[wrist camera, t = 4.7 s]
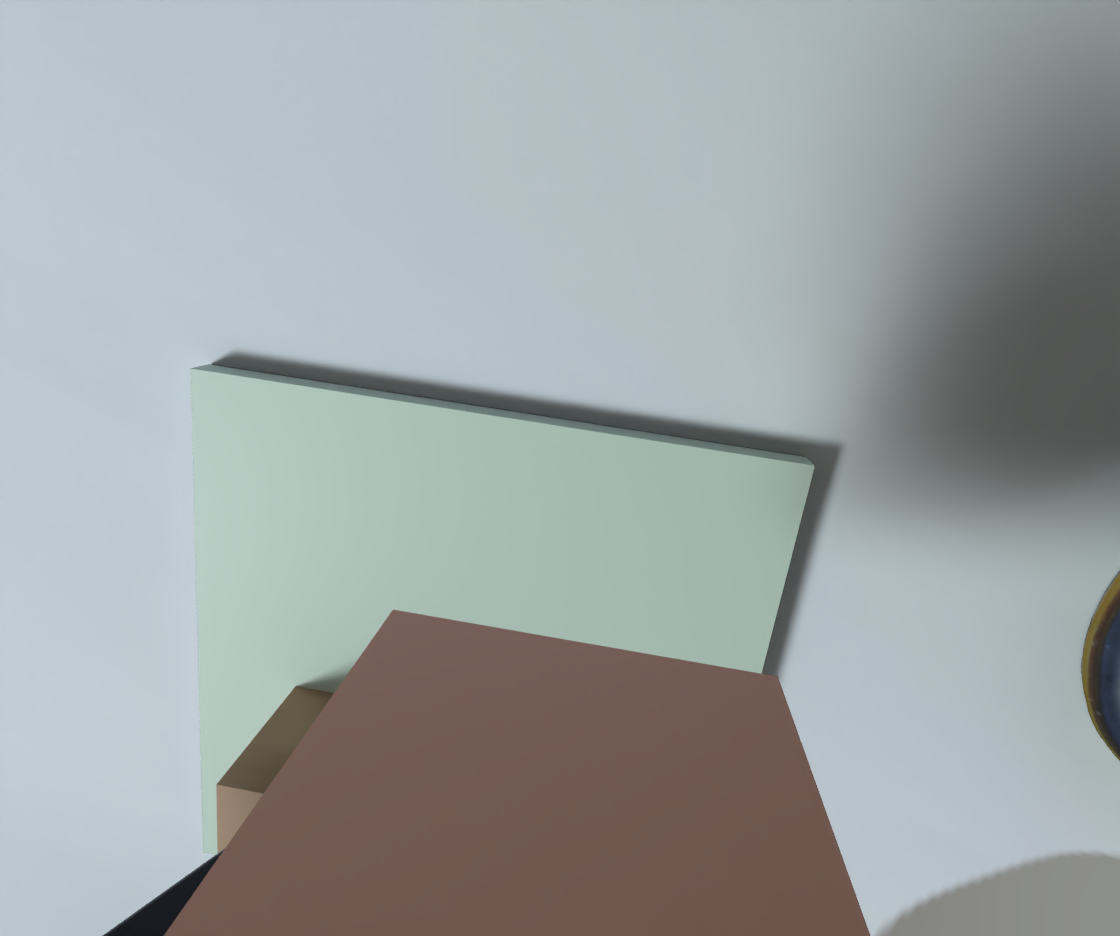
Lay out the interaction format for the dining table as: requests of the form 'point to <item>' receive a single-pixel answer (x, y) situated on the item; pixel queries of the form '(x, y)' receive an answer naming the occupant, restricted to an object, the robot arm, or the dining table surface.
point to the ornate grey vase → (1104, 667)
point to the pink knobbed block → (534, 802)
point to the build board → (459, 538)
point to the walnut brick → (264, 759)
